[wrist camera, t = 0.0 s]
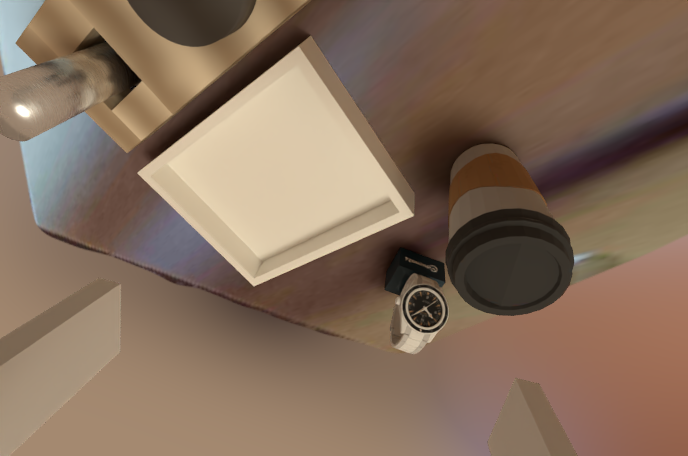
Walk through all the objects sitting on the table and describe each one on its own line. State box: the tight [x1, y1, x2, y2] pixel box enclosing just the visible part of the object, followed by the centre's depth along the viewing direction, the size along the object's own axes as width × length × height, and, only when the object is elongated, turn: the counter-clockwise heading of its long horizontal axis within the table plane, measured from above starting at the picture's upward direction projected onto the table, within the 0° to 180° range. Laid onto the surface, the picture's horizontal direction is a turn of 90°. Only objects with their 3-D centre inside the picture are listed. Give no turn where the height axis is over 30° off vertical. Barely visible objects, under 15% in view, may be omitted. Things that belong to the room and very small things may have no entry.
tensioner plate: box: [16, 0, 311, 153], centre depth 30 cm, size 24×12×8 cm, turn 125°
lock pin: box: [0, 42, 142, 141], centre depth 31 cm, size 4×4×14 cm
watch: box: [385, 247, 449, 354], centre depth 42 cm, size 6×8×11 cm
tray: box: [138, 36, 415, 286], centre depth 40 cm, size 22×18×4 cm
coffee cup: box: [446, 144, 574, 316], centre depth 32 cm, size 8×8×15 cm
